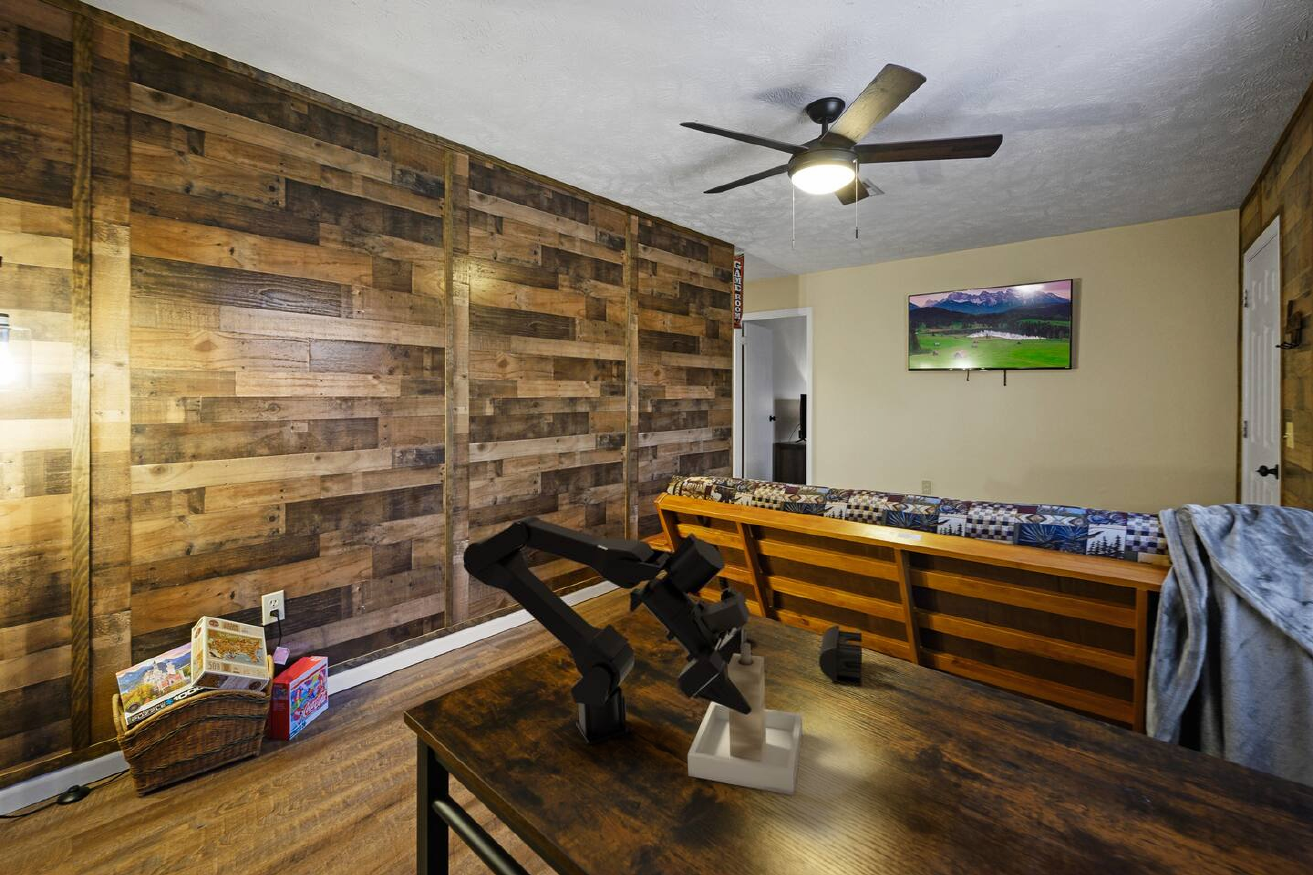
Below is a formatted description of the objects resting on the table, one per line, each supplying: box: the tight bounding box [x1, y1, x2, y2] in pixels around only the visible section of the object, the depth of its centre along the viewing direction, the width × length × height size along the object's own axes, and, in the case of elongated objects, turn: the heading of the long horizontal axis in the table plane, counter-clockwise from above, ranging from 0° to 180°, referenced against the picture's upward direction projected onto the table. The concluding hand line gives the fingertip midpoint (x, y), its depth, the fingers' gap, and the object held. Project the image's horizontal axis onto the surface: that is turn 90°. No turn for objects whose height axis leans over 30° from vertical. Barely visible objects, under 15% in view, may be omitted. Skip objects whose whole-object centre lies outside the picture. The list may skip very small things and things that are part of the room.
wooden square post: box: [728, 642, 766, 761], centre depth 82 cm, size 4×4×16 cm
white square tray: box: [687, 701, 803, 796], centre depth 82 cm, size 14×14×3 cm
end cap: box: [818, 625, 863, 687], centre depth 105 cm, size 10×7×7 cm
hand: (754, 694), depth 81 cm, fingers open, 9 cm apart
